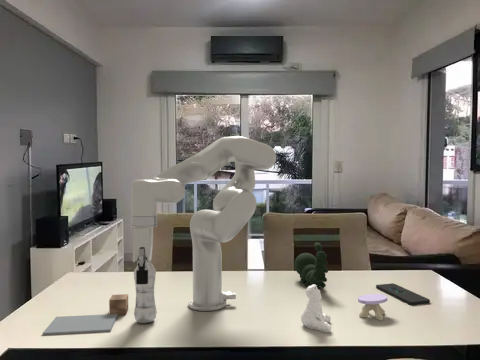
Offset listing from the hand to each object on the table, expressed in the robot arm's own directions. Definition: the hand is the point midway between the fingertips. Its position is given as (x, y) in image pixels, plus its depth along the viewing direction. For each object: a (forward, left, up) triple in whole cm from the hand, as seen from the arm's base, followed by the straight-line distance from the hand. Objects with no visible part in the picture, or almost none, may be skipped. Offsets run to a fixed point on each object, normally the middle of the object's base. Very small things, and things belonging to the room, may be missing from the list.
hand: (143, 279), depth 121 cm
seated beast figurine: (-49, +10, -13) cm, 52 cm away
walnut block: (+9, -9, -13) cm, 18 cm away
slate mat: (+18, 0, -13) cm, 22 cm away
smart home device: (-88, -13, -14) cm, 90 cm away
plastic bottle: (0, 0, -13) cm, 13 cm away
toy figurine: (-60, -30, -13) cm, 69 cm away
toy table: (-69, +4, -13) cm, 71 cm away
